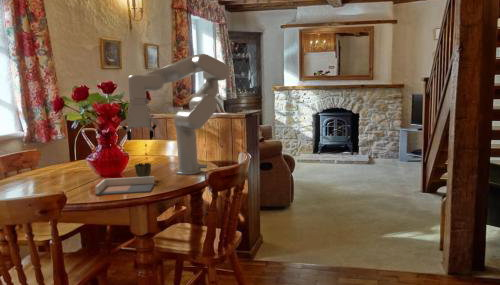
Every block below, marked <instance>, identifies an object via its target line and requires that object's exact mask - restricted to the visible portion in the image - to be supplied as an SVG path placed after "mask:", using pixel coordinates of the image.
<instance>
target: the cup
mask: <svg viewBox="0 0 500 285" xmlns="http://www.w3.org/2000/svg"><path fill="white" fill-rule="evenodd" d="M151 168H152V164H151V163H150V162H144V163H142V162H141V163H140V162H138V163H136V164H134V169H135V174H136V177H149V176H151V170H152V169H151Z"/></svg>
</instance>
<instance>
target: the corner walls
mask: <svg viewBox="0 0 500 285" xmlns="http://www.w3.org/2000/svg"><path fill="white" fill-rule="evenodd" d="M152 183H155V176H154V175H152V176H151V175H149V177H138V176H135V177H134V176H133V177H116V178H115V177H114V178H103V179H102V180H101V181H99V183H97V184H96V185H95V186H94V191H95V195H96V194H99V193H100V192H101V191H102V190H103V189H104V188H105V187H106V186H117V185H134V184H152ZM155 184H156V183H155Z"/></svg>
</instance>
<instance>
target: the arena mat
mask: <svg viewBox="0 0 500 285" xmlns="http://www.w3.org/2000/svg"><path fill="white" fill-rule="evenodd" d="M155 184H156V183H152V184H134V185H117V186H106V187H105V188H104V189H103V190H102V191H101V192H100V193H99V194H96V193H95V196H105V195H121V194H122V195H123V194H125V195H126V194H142V193H151V191H152V190H153V188H154V186H155Z"/></svg>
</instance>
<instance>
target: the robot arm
mask: <svg viewBox="0 0 500 285" xmlns="http://www.w3.org/2000/svg"><path fill="white" fill-rule="evenodd" d="M201 72H202V78H203V84H202V85H201V87H200V89H199V90H198V91H197V92H196V93H195V94H194V95H193V96H192V98H191V99H190V100H189V103H188V107H189V108H188V109H180V110H178V111H177V112H176V113H175V115H174V118H173V124H174V128H175V133H176V143H177V144H176V145H177V161H178V165H177V166H178V169H176V170H175V174H177V175H181V176H185V175H187V176H188V175H197V174H199V173H201V172H202V169H207V168H208V167H207V166H208V165H207V163H206V164H205V163H203V164H200V163H199V161H198V149H197V135H196V131H195V130H200V129H202V128H203V126H205V124H206V123H207V122H208V120H210V118H211V117H212V116H213V115H214V113H215V112H216V110H217V108H218V100H217V98H216V96H217V95H218V93H219V83H218V81H219V82H220V81H225V80H227V79H228V78H229V77H230V73H231V70H230V68H229V66H228V65H227V64H226V63H225V62H223V61H221V60H219V59H217V58H215V57H213V56H211V55H208V54H206V53H199V54H194V55H193V54H192V55H190V56H188V57H186V58H183V59H181V60H179V61H176V62H173V63H171V64H168V65H166V66H163V67H161V68H157V69H155V70H153V71H150V72H148V73H146V74H133V75H129V76H128V77H127V79H128V80H127V82H128V84H127V85H128V96H129V97H128V98H129V105H128V108H127V118H125V119H123V120H122V121H120V122H119V124H120V127H122V129H123V130H124V131H125V132H126V138H127V139H128V141H131V140H132V132H131V129H132V128H148V129H149V140H153V139H154V130H155V129H156V127H158V124H159V123H160V122H159V120H158V119H155V118H154V117H152V116H151V110H150V109H151V108H150V106H149V104H148V103H150V102H151V100H150V99H148V98H147V92H155V91H159V90H161V89H162V88H163V87H164V85H165V84H168V83H174V82H178V81H181V80H183V79H185V78H188V77H190V76H193V75H194V74H197V73H201ZM152 122H154V123H153V124H154V125H153V126H152ZM125 123H127V126H128V127H127V126H126V124H125Z"/></svg>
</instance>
